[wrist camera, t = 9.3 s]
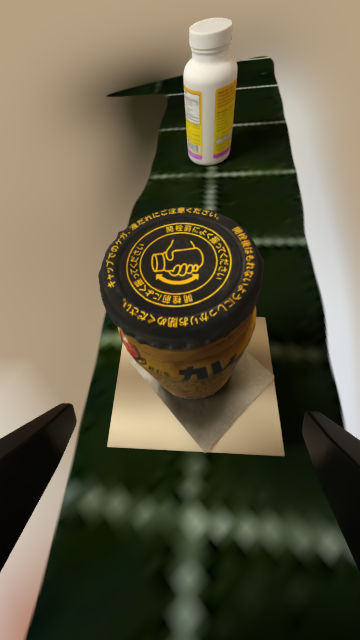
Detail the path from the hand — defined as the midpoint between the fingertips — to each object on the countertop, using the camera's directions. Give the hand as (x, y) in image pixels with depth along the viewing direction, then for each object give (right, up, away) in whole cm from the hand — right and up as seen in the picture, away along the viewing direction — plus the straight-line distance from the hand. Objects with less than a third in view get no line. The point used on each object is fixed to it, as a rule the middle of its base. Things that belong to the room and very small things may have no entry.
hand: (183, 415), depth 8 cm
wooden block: (+1, -2, +12) cm, 12 cm away
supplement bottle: (+5, +30, +27) cm, 41 cm away
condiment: (+1, 0, +9) cm, 9 cm away
